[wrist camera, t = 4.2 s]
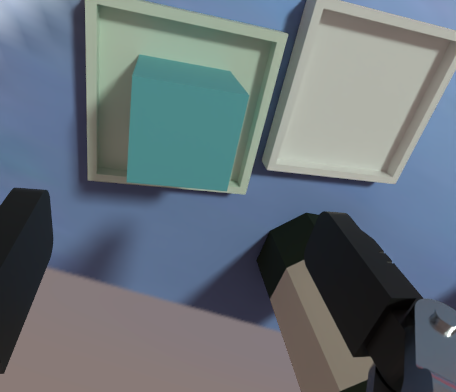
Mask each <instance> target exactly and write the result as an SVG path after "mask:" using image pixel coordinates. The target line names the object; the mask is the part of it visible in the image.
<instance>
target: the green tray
mask: <svg viewBox="0 0 456 392" xmlns="http://www.w3.org/2000/svg"><path fill="white" fill-rule="evenodd" d="M85 35H86V99H87V164H88V181H99V182H111V183H122V184H133V185H144V186H156V187H167V188H178V189H189V190H200V191H212V192H223V193H234V194H246V191H247V187H248V183H249V180H250V176H251V172H252V168H253V165H254V161H255V157H256V153H257V150H258V146H259V142H260V139H261V135H262V131H263V127H264V124H265V120H266V116H267V112H268V109H269V105H270V101H271V98H272V94H273V90H274V86H275V83H276V79H277V75H278V71H279V68H280V64H281V60H282V56H283V53H284V49H285V45H286V42H287V38H288V34H287V33H285V32H282V31H278V30H274V29H269V28H265V27H260V26H256V25H252V24H247V23H243V22H238V21H234V20H229V19H225V18H220V17H216V16H211V15H207V14H202V13H198V12H193V11H189V10H184V9H180V8H175V7H171V6H166V5H162V4H157V3H153V2H148V1H144V0H85ZM139 54H140V55H146V56H151V57H157V58H162V59H168V60H173V61H178V62H184V63H189V64H195V65H200V66H206V67H211V68H217V69H222V70H227V71H231V73H232V74H233V75H234V76H235V78H236V79H237V80H238V82H239V83H240V84H241V85H242V87H243V88H244V89H245V90H246V92H247V93H248V94H249V99H248V104H247V108H246V112H245V116H244V121H243V125H242V129H241V134H240V138H239V142H238V146H237V151H236V155H235V159H234V164H233V168H232V172H231V176H230V181H229V185H228V189H227V191H216V190H205V189H194V188H183V187H172V186H161V185H150V184H139V183H128V182H127V164H128V145H129V126H130V107H131V88H132V75H133V72H134V69H135V66H136V63H137V60H138V57H139Z"/></svg>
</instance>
